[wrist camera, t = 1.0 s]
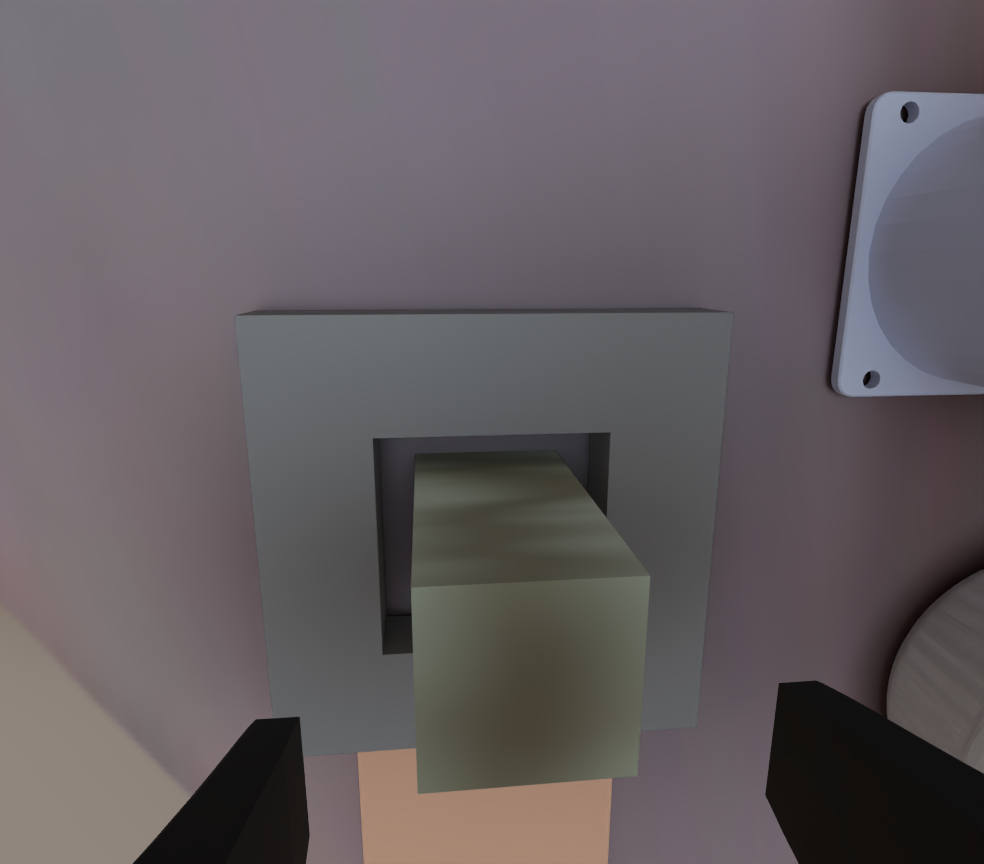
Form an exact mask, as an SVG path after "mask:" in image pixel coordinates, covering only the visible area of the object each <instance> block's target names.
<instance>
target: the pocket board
mask: <svg viewBox="0 0 984 864" xmlns="http://www.w3.org/2000/svg"><path fill="white" fill-rule="evenodd" d="M732 323H733V312H726V311H718V310H710V309H702V308H649V309H467V310H284V311H253V312H248V313H244V314H239V315H235V324H236V334H237V345H238V356H239V366H240V377H241V388H242V398H243V409H244V419H245V430H246V441H247V451H248V462H249V473H250V483H251V494H252V504H253V515H254V526H255V536H256V547H257V558H258V568H259V579H260V589H261V600H262V611H263V621H264V632H265V642H266V653H267V664H268V674H269V685H270V696H271V706H272V717H273V718H286V717H300V726H301V738H302V750H303V757H304V756H318V755H331V754H344V753H358V752H371V751H385V750H398V749H411V748H416V728H415V698H414V667H413V637H412V615H407V616H389V617H386V594H385V571H384V548H383V525H382V502H381V478H380V455H379V438H409V437H448V436H487V435H526V434H566V433H590V449H589V476H588V494H589V495H590V497H591V498H592V499H593V501H594V502H595V503H596V505H597V506H598V507H599V509H600V510H601V511H602V513H603V514H604V515H605V517H606V518H607V519H608V520H609V522H610V523H611V524H612V526H613V527H614V528H615V530H616V531H617V532H618V534H619V535H620V536H621V538H622V539H623V540H624V542H625V543H626V544H627V546H628V547H629V548H630V550H631V551H632V552H633V554H634V555H635V556H636V558H637V559H638V560H639V561H640V563H641V564H642V565H643V567H644V568H645V569H646V571H647V572H648V573H649V575H650V589H649V604H648V620H647V635H646V651H645V666H644V682H643V697H642V713H641V728H640V731H652V730H666V729H679V728H693V727H697V717H698V706H699V695H700V684H701V672H702V661H703V650H704V639H705V627H706V616H707V605H708V593H709V582H710V571H711V560H712V548H713V537H714V526H715V515H716V503H717V492H718V481H719V470H720V458H721V447H722V436H723V425H724V413H725V402H726V391H727V379H728V368H729V357H730V346H731V334H732Z"/></svg>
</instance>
